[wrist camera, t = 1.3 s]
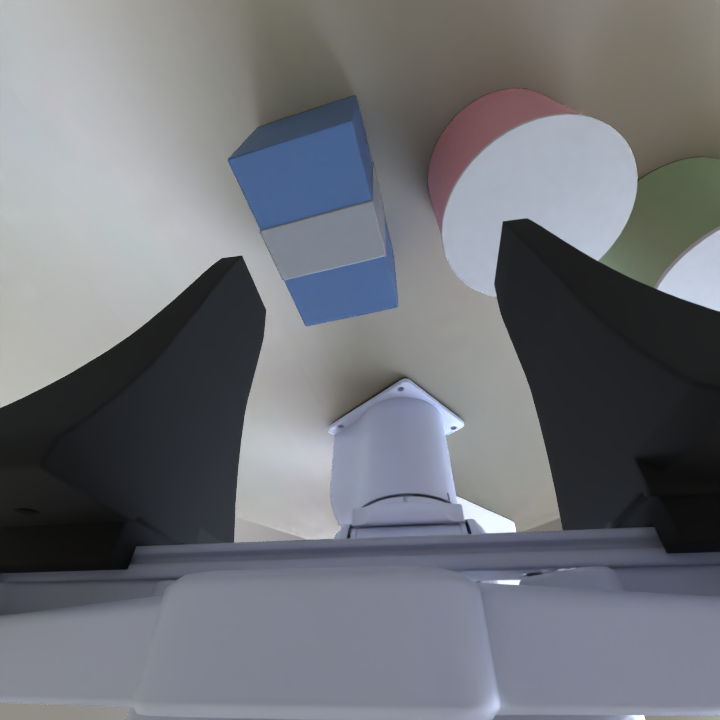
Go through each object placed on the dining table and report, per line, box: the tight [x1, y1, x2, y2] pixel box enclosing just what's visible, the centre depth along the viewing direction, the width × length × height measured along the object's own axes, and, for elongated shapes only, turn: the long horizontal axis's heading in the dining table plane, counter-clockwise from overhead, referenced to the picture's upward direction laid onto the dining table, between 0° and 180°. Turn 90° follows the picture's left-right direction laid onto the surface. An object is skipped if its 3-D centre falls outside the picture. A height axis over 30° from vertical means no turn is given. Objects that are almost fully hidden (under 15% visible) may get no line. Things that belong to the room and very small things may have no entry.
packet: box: [228, 95, 398, 326], centre depth 19 cm, size 8×5×5 cm, turn 15°
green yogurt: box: [598, 157, 720, 312], centre depth 19 cm, size 7×7×6 cm
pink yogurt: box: [428, 88, 637, 297], centre depth 17 cm, size 7×7×6 cm
